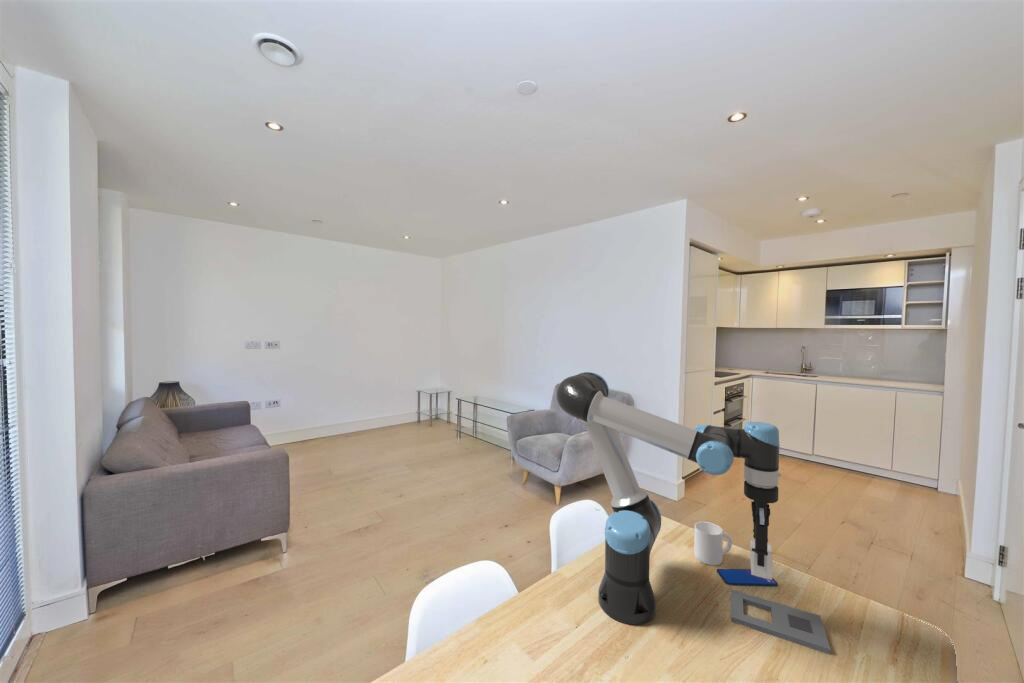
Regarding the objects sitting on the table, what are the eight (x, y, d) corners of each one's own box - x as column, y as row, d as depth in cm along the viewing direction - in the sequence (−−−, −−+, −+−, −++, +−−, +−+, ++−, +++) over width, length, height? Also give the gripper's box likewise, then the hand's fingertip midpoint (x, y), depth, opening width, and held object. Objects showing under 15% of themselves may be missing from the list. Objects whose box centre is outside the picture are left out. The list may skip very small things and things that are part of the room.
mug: (724, 550, 130) (725, 521, 129) (739, 566, 121) (740, 534, 121) (689, 551, 130) (689, 521, 129) (702, 566, 121) (702, 534, 121)
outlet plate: (731, 621, 99) (731, 616, 99) (731, 593, 109) (731, 588, 109) (830, 654, 89) (830, 649, 89) (819, 619, 99) (820, 615, 99)
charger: (751, 574, 99) (751, 547, 99) (750, 565, 103) (750, 539, 103) (772, 579, 97) (772, 552, 97) (770, 570, 101) (770, 543, 101)
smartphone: (715, 568, 120) (764, 569, 119) (715, 571, 120) (764, 572, 119) (727, 584, 112) (779, 585, 112) (727, 587, 113) (779, 587, 112)
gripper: (782, 499, 90) (780, 596, 91) (775, 474, 105) (773, 557, 106) (744, 492, 94) (743, 585, 95) (743, 469, 109) (742, 549, 110)
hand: (759, 570), depth 100 cm, fingers closed on charger, 4 cm apart
